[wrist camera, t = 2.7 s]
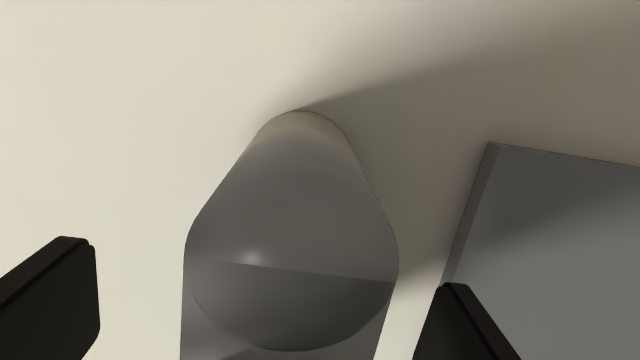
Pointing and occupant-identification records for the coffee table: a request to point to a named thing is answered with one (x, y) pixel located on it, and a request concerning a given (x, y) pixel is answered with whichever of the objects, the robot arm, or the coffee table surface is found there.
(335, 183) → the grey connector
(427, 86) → the coffee table surface
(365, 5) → the coffee table surface
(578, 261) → the charcoal mat
